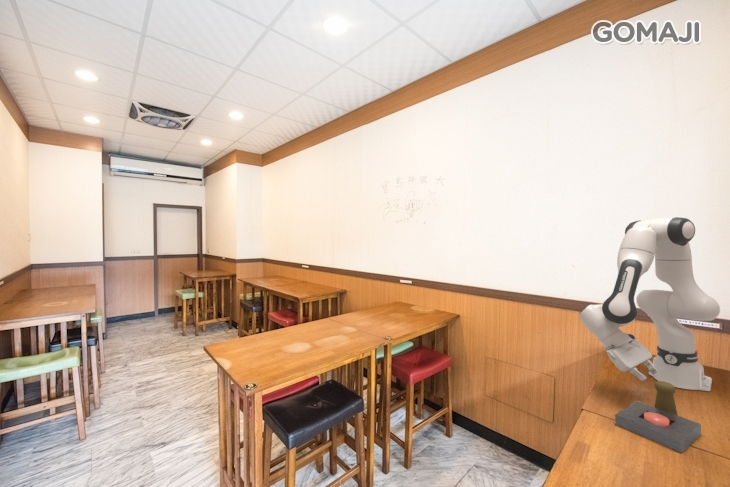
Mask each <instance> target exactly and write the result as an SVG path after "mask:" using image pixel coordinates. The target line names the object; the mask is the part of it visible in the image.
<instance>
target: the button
mask: <svg viewBox="0 0 730 487" xmlns="http://www.w3.org/2000/svg"><path fill="white" fill-rule="evenodd" d="M644 419H645V420H647V421H650V422H652V423H655V424H657V425H660V426H662V427H665V428H667V427H668V426H670V424H669V419H668V418H667V417H665V416H663V415H660V414H657V413H653V412H645V413H644Z"/></svg>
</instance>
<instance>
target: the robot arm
mask: <svg viewBox="0 0 730 487" xmlns="http://www.w3.org/2000/svg"><path fill="white" fill-rule="evenodd" d="M695 234H696V227H695V224H694V222H693V221H692V220H690V219H689V218H686V217H676V216H675V217H657V218H651V219H644V220H639V219H638V220H635V221H632V222H630V223H629V224H628V225H627V226H626V227H625V230H624V237H623V239H622V241H621V244H620V246H619V249H618V253H617V262H616V264H617V272H618V273H617V277H616V281H615V283H614V286H613V291H612V293H611V294H610V295H609V296H608V298H606V300H605V301H604V302H602V303H601V304H600V303H598V304H591V303H590V304H587V306H585V307H584V308H583V309H581V311H580V312H579V316H578V317H579V320H580V321H581V323H582V324H583V325H584V327H585V328H586V329H587V330H588V331H589V332H590V333H591V334H592V335H594V336H595V337H596V338H597V340H598V341H599V342H600V343H601V345H603V347H605V352H606V353H607V357H608V359H609V360H610V361H611V362H612V363H613V364H614V366H615V367H616V368H617V369H618V370H619V371H620V372H622V373H625V372H627V371H628V372H629V373H630V374H632V375H634V376H635V377H637V379H638V380H640V381H641V382H642V381H645V380H647V379H648V377H647V376H646V375H645V374H644V373H641V372H640V371H638V368H637V366H639V365H640V364H643V366H646V367H647V369H648V375H650V376H652V377H653V378H654V379H655V380H656V381H664V382H668V383H670V384H672V385H673V386H674V387H675V388H678V389H683V390H688V391H689V390H691V391H703V392H711V390H712V384H713V379H712V377H710V376H707V375H705V371H704V370H705V369H704V366H703V365H702V363H700V361H699V356H698V355H699V351H698V349H696V336H695V334H694V332H693V331H692V330H691V329H689V328H688V327H686V326H684V325H683V324H682V323H681V322H680V321H679V320H678V319H684V320H687V321H688V320H689V321H701V322H711V321H714V320H715V319H717V318H718V317H719V315H720V312H721V308H720V307H721V306H720V304H719V303H718V301H717V300H716V299H714V297H712V296H710V295H709V294H707V293H706V292H705V291H703V289H701V287H700V286H699V285H698V284H697V282H696V280H695V278H694V272H693V271H694V270H693V259H692V258H693V256H692V250H691V246H690V242H691V241H692V239H693V238H694V236H695ZM653 262H654V265H655V267H654V268H655V270H654V271H655V276H656V278H657V279H658V280H659V281H661V282H663V283H665V284H667V285H668V286H669V287H670V288H671V290H664V289H663V290H662V289H643V290H641V291H640V292H638V294H637V296H636V301H635V294H636V292H637V288H638V284H639V281H640V279H641V277H642V276H643V275H644V274H645V273H647V272H648V271H649V269H650V268H651V266H652V264H653ZM635 302H636V303H635ZM636 304H637V307H638V308H639V309H640V310H641V311H642V312H644V313H645V314H646V315H647V316H648V317H649V318H650V320H652V322H653V324H654V327H655V328H656V333H657V344H658V345H657V346H656V356H654V357H653V355H652V353H651V352H650V351H649V350H648V348H647V347H646V346H645V345H644V344H643V343H642V342H641V341H640V340H637V337H636V336H635V335H634V334H632V333H627V332H623V330H622V329H620V328H621V327H624V326H628V325H631V324H632V323H633V322H634V321H635V320H636V318H637V315H638V314H637V313H638V309H637V307H636ZM650 359H652V361H651V360H650Z"/></svg>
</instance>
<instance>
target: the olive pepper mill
mask: <svg viewBox="0 0 730 487" xmlns="http://www.w3.org/2000/svg"><path fill="white" fill-rule="evenodd" d="M654 388H655V390H656V395H655V400H654V401H655V402H654V407H655V408H657V409H660V410H663V411H666V412H669V413H671V414H674V415H677V416H679V415H678V411H677V407H676V402H675V401H676V400H675V396H674V394H675V393H676V387H674V386H673V385H672V384H670V383H668V382H664V381H658V380H656V381H655V383H654Z"/></svg>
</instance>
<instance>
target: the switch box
mask: <svg viewBox="0 0 730 487" xmlns="http://www.w3.org/2000/svg"><path fill="white" fill-rule="evenodd" d="M645 412H653V413H657V414H660V415H663V416H665V417H667V418H668V419H669V424H670V426H668V427H667V428H665V427H662V426H660V425H657V424H655V423H652V422H650V421H647V420H645V419H644V413H645ZM677 415H678V414H677ZM677 415H674V414H671V413H669V412H666V411H663V410H660V409H657V408H655V406H651V405H649V404H646V403H643V402H641V401H637V400H636V401H634V402H633V403H631V404H629V405H627V407H625V408H624V409H621V410H619V411H618V412H617V413H614V424H615V425H616V426H618V427H619V428H622V429H625V430H627V431H629V432H631V433H634V434H637V435H638V436H641V437H643V438H645V439H648V440H650V441H652V442H655V443H657V444H659V445H661V446H663V447H667V448H669V449H671V450H673V451H675V452H677V453H681V454H682V453H683V452H684V451H686V449H688V448H689V447H690V446H691V445H692V444H693V443H695V441H696V440H698V439H699V438H700V437H701V436H702V425H701V424H702V423H699V422H696V421H694V420H691V419H687V418H686V417H683V416H679V415H678V416H677Z"/></svg>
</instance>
